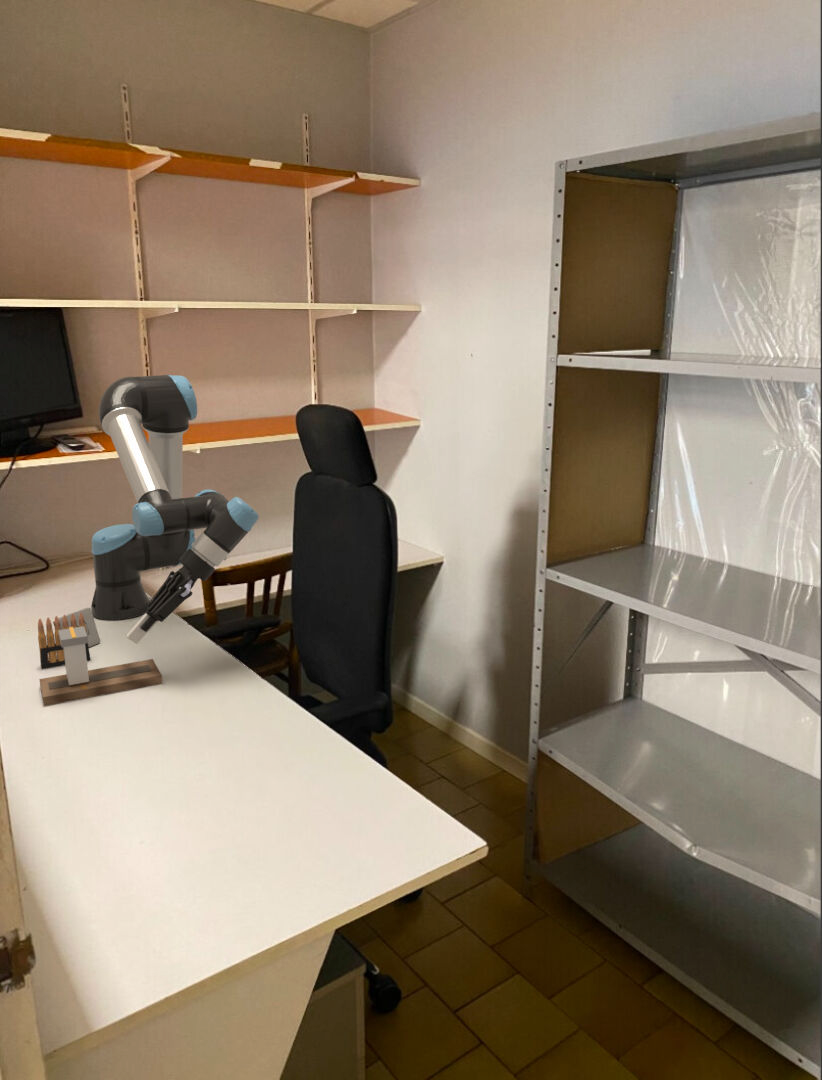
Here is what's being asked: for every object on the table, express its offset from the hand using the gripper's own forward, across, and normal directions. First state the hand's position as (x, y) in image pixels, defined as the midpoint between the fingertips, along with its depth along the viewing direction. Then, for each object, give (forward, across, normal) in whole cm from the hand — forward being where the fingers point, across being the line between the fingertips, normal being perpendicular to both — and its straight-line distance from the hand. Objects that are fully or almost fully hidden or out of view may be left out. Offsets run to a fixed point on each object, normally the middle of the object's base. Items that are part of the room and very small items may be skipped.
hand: (131, 639), depth 181 cm
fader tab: (+13, 0, +3) cm, 14 cm away
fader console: (+12, 0, -2) cm, 12 cm away
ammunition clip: (+16, +16, +2) cm, 23 cm away
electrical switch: (+14, +25, -1) cm, 29 cm away
